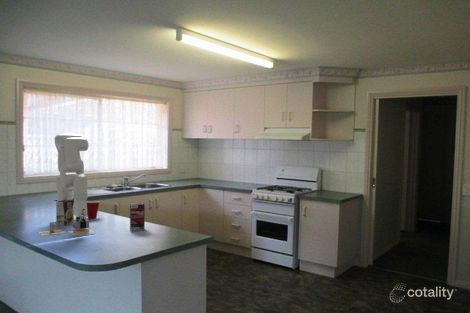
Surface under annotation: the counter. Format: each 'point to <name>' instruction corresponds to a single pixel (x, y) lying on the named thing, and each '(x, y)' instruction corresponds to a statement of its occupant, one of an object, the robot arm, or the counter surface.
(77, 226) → the collar
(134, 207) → the supplement box
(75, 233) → the hub
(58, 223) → the coffee box
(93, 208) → the plastic cup
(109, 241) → the counter surface
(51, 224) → the rod stand
